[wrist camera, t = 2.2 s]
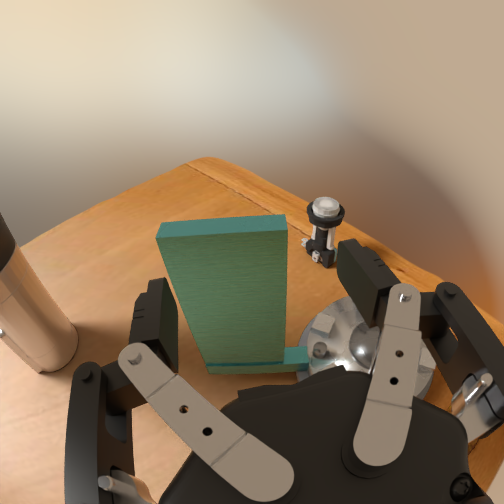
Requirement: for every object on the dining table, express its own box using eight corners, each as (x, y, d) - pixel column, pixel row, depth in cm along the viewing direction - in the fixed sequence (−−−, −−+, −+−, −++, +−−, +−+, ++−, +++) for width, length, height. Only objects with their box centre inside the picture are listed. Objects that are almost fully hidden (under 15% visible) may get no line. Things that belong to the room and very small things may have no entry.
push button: (291, 253, 47) (292, 199, 40) (313, 238, 49) (316, 186, 42) (322, 274, 43) (329, 219, 36) (344, 258, 45) (352, 204, 38)
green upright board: (407, 298, 35) (453, 172, 22) (442, 399, 24) (546, 285, 11) (214, 312, 36) (181, 176, 24) (205, 429, 25) (124, 329, 12)
